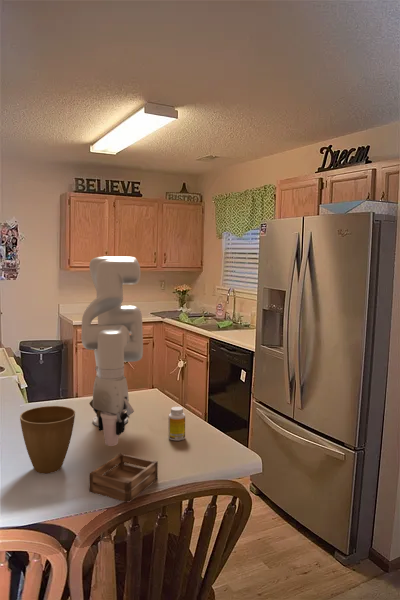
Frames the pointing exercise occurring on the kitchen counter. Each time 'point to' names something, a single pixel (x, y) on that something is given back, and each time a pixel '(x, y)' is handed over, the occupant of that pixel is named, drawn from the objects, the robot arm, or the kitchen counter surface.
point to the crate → (123, 477)
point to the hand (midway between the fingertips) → (111, 430)
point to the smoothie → (110, 428)
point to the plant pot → (47, 436)
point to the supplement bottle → (176, 424)
